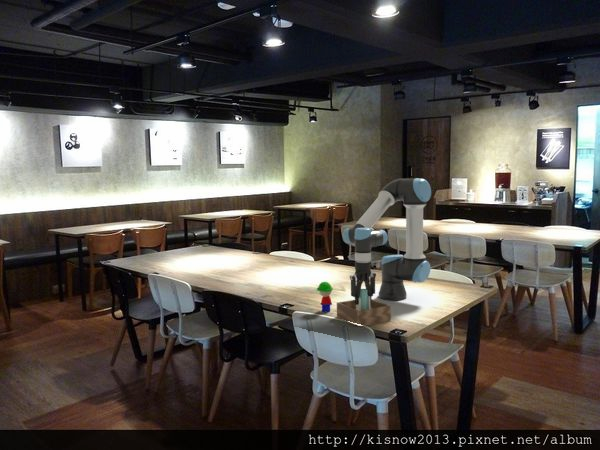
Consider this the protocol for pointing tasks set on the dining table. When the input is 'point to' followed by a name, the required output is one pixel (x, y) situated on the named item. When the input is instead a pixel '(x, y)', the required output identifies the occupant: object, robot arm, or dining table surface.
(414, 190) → the robot arm
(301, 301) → the dining table surface
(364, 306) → the peg
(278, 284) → the dining table surface
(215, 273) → the dining table surface
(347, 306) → the caddy
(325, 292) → the toy
